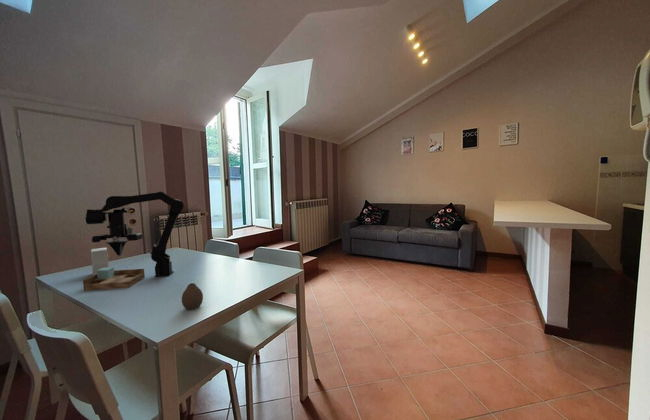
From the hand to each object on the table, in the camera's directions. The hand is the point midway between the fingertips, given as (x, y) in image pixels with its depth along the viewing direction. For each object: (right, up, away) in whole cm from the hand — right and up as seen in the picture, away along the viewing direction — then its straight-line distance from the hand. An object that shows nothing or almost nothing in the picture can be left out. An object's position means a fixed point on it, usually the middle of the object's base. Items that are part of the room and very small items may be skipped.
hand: (119, 255), depth 123 cm
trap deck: (0, -13, -2) cm, 13 cm away
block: (-6, -10, 0) cm, 12 cm away
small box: (-20, -12, +13) cm, 27 cm away
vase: (+49, -14, -28) cm, 58 cm away
